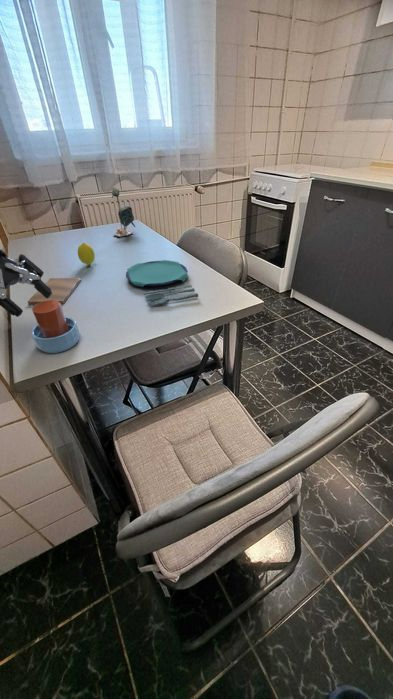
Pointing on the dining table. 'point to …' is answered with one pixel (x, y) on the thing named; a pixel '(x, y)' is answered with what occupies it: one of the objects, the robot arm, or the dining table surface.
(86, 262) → the lemon
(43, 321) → the terracotta cylindrical canister
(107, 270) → the dining table surface
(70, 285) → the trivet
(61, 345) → the bowl
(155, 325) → the dining table surface
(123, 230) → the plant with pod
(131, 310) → the dining table surface
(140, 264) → the cutlery set
